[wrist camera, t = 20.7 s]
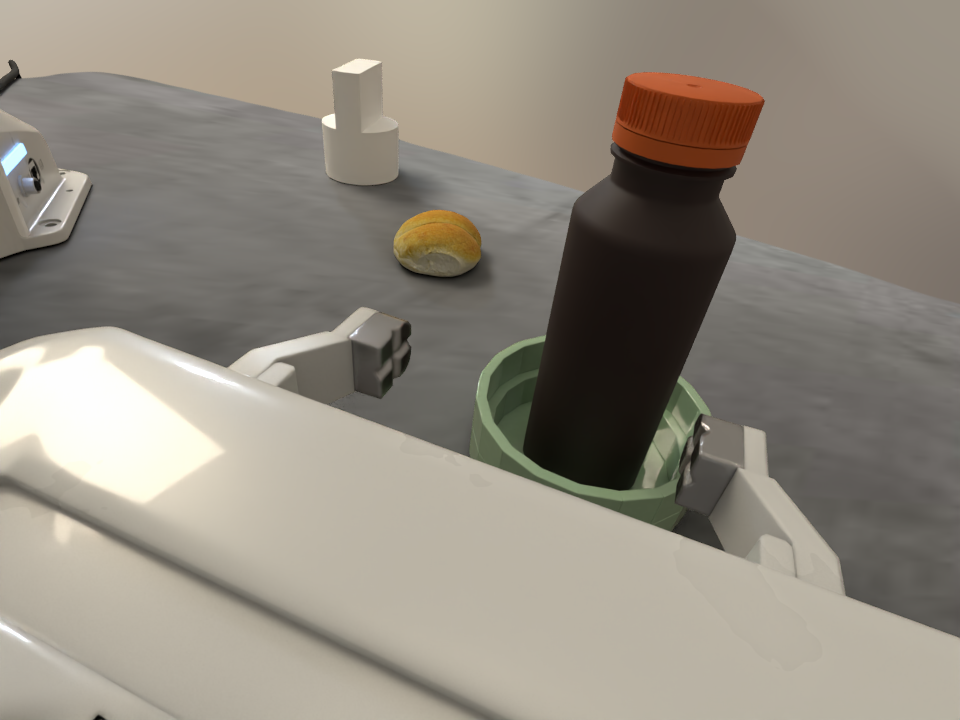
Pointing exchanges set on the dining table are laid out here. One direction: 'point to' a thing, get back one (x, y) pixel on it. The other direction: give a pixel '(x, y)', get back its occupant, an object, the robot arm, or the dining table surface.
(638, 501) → the bowl
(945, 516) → the dining table surface
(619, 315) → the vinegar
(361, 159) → the cylinder with rectangular tab
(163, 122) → the dining table surface
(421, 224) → the bread roll
